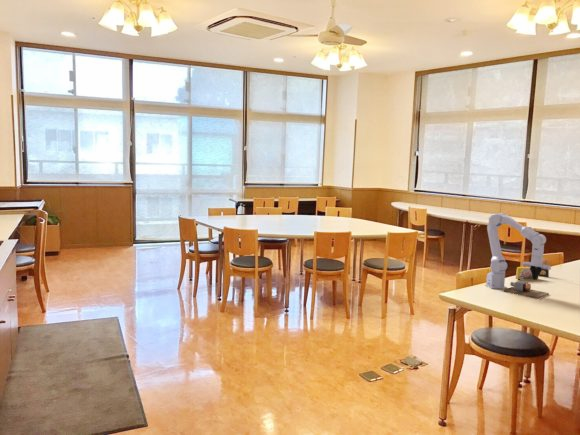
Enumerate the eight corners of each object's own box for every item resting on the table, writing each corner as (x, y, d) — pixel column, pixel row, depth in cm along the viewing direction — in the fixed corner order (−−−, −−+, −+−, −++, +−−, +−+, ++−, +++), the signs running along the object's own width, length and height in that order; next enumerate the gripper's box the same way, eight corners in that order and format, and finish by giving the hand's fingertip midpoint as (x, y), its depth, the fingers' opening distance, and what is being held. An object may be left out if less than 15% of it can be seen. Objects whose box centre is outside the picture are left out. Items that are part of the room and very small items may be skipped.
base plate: (548, 294, 267) (548, 293, 267) (538, 299, 258) (538, 297, 258) (514, 287, 281) (514, 286, 281) (503, 291, 272) (503, 289, 272)
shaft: (530, 290, 270) (531, 283, 269) (527, 291, 267) (527, 284, 266) (512, 286, 277) (513, 279, 277) (509, 288, 274) (509, 280, 274)
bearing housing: (527, 290, 272) (528, 281, 271) (522, 292, 268) (523, 283, 267) (520, 288, 275) (520, 280, 275) (514, 290, 271) (515, 282, 270)
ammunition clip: (548, 276, 311) (550, 258, 310) (547, 277, 310) (549, 259, 309) (531, 274, 318) (532, 256, 317) (530, 274, 317) (531, 256, 316)
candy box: (517, 280, 300) (518, 267, 299) (515, 279, 302) (516, 267, 301) (538, 279, 304) (539, 266, 303) (536, 278, 306) (537, 266, 305)
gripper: (554, 257, 261) (551, 281, 262) (527, 253, 272) (525, 276, 273) (548, 259, 256) (546, 283, 258) (521, 254, 267) (519, 278, 269)
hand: (535, 280), depth 265 cm, fingers closed
